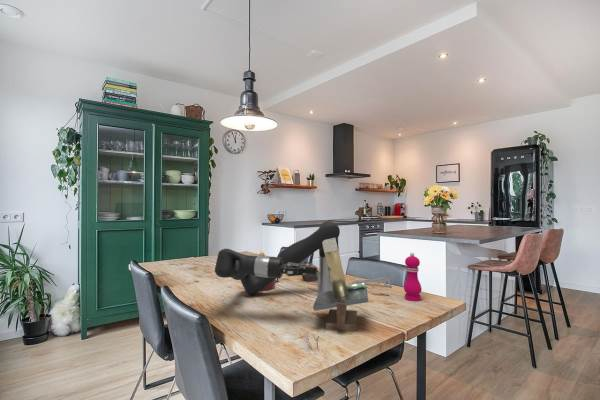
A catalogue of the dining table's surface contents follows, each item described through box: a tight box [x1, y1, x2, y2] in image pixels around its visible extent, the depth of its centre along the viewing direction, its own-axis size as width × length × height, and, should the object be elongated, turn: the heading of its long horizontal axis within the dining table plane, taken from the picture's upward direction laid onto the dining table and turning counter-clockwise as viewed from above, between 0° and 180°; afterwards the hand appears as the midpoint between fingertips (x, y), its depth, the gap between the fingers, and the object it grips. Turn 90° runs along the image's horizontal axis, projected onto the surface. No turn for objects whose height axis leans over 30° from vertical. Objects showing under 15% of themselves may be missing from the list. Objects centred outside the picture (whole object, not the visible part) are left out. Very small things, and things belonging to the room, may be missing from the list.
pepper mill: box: [403, 252, 423, 302], centre depth 135 cm, size 7×7×20 cm
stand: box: [325, 302, 358, 332], centre depth 109 cm, size 10×20×10 cm, turn 169°
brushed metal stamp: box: [312, 238, 369, 312], centre depth 110 cm, size 18×16×21 cm
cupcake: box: [301, 261, 319, 283], centre depth 170 cm, size 10×10×10 cm
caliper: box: [351, 275, 392, 288], centre depth 159 cm, size 20×1×6 cm, turn 59°
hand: (316, 271), depth 111 cm, fingers closed
